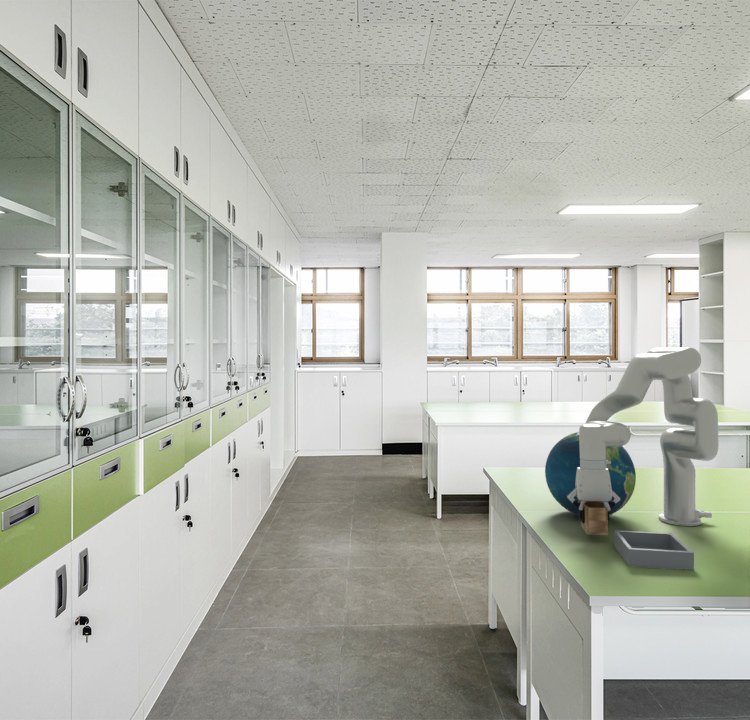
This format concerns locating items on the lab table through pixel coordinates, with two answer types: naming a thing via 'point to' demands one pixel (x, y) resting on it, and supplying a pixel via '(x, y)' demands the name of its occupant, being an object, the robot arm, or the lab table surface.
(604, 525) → the small crate
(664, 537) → the shallow gray tray
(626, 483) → the globe
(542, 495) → the lab table surface
